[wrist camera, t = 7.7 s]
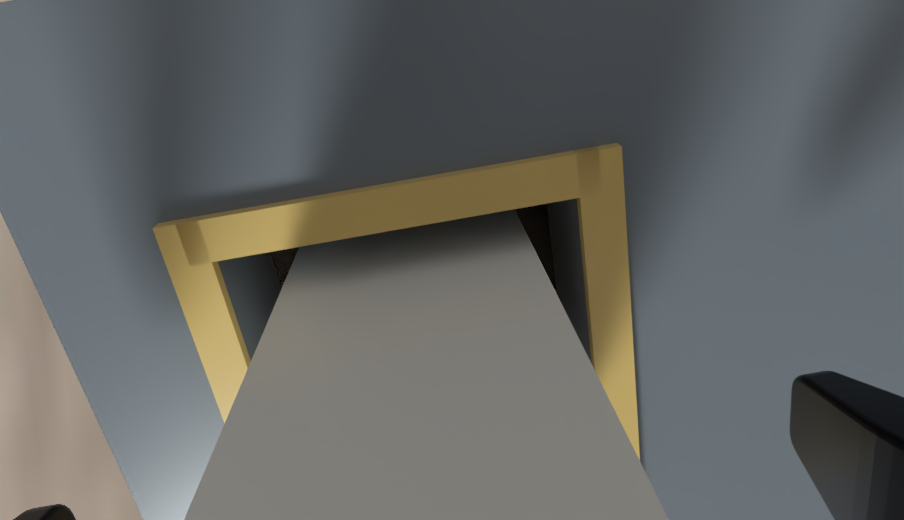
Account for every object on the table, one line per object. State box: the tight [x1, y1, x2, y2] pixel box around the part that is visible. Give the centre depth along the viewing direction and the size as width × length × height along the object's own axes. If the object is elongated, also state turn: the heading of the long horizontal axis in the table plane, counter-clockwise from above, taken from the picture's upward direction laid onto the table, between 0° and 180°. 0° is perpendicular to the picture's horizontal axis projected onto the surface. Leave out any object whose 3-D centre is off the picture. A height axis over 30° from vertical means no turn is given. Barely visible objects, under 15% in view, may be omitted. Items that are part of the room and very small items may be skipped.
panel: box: [0, 0, 904, 520], centre depth 11 cm, size 22×12×3 cm, turn 99°
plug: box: [184, 209, 669, 520], centre depth 8 cm, size 4×4×9 cm
